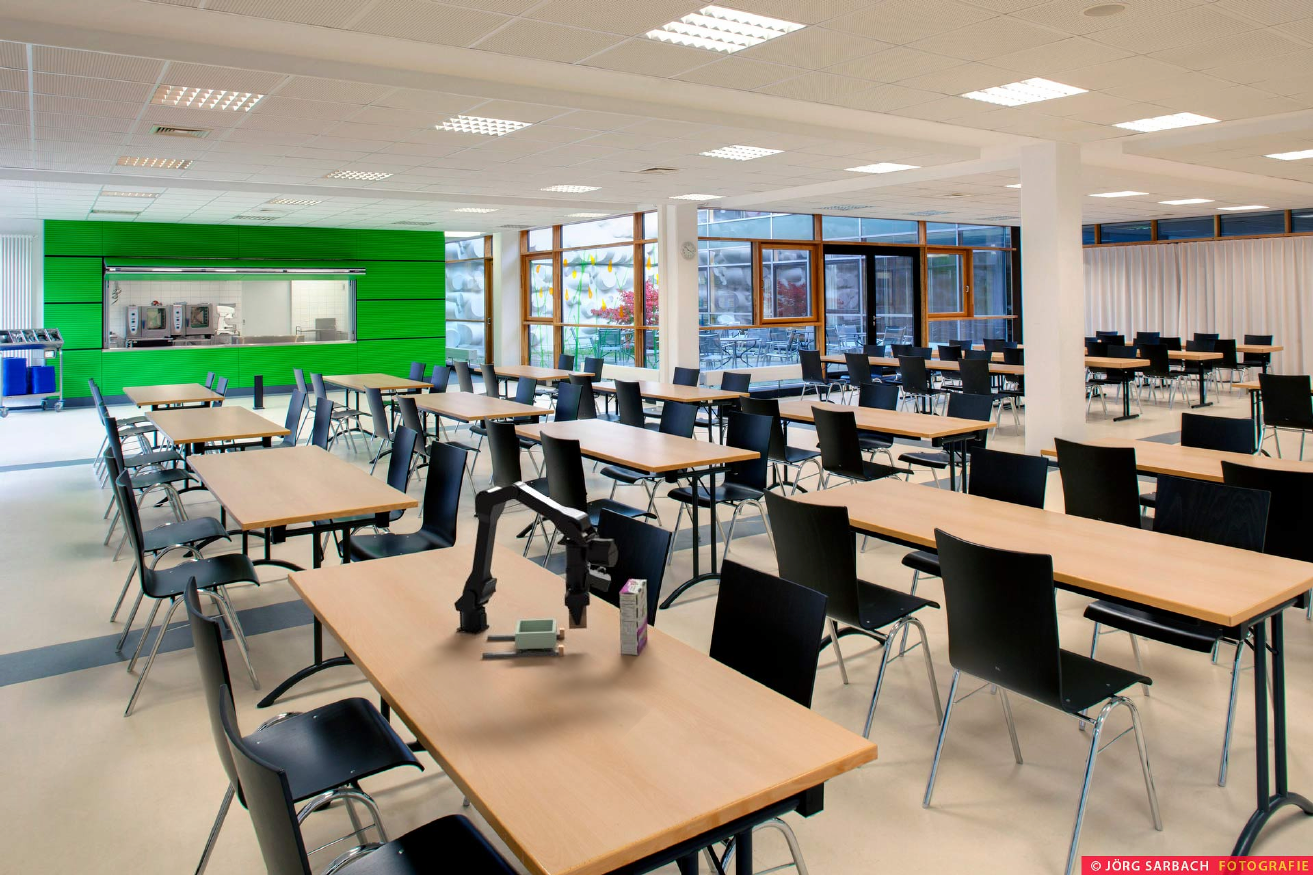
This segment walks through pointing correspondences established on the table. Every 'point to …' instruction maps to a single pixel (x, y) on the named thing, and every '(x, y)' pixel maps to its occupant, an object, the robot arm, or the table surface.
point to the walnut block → (582, 624)
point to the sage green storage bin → (536, 634)
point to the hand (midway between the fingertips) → (577, 621)
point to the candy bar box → (633, 616)
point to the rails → (523, 654)
